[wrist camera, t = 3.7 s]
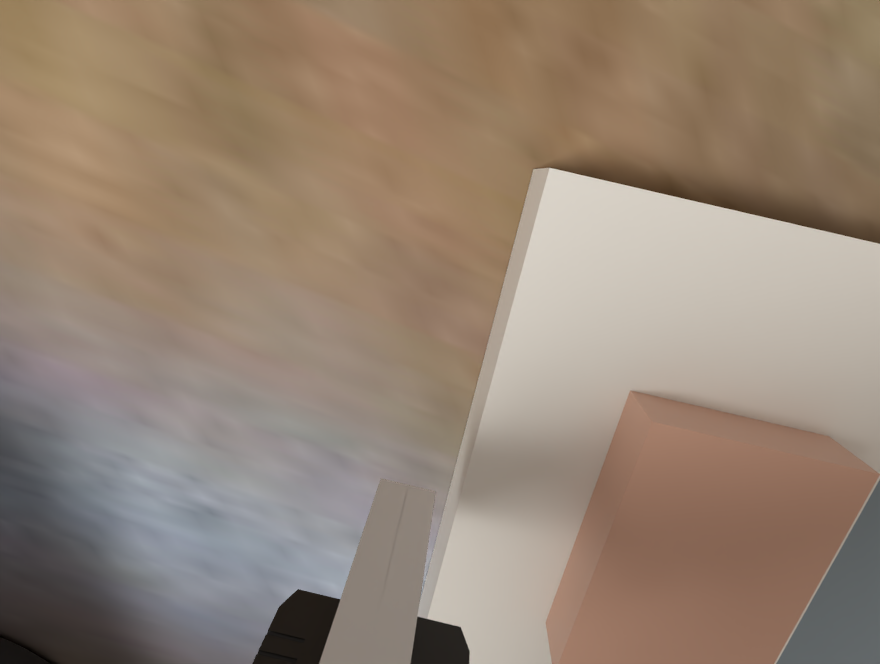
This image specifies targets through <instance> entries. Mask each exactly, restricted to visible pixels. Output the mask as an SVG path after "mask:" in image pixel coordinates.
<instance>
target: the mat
mask: <svg viewBox="0 0 880 664" xmlns="http://www.w3.org/2000/svg"><path fill="white" fill-rule="evenodd" d="M776 664H880V480H879V482H878V483H877V485H876V487H875V489H874V491H873V492H872V494H871V496H870V498H869V500H868V501H867V503H866V505H865V507H864V508H863V510H862V512H861V514H860V516H859V517H858V519H857V521H856V523H855V524H854V526H853V528H852V530H851V532H850V533H849V535H848V537H847V539H846V540H845V542H844V544H843V546H842V548H841V549H840V551H839V553H838V555H837V556H836V558H835V560H834V562H833V564H832V565H831V567H830V569H829V571H828V572H827V574H826V576H825V578H824V580H823V581H822V583H821V585H820V587H819V588H818V590H817V592H816V594H815V596H814V597H813V599H812V601H811V603H810V604H809V606H808V608H807V610H806V612H805V613H804V615H803V617H802V619H801V621H800V622H799V624H798V626H797V628H796V629H795V631H794V633H793V635H792V637H791V638H790V640H789V642H788V644H787V645H786V647H785V649H784V651H783V653H782V654H781V656H780V658H779V660H778V661H777V663H776Z"/></svg>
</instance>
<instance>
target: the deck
mask: <svg viewBox="0 0 880 664" xmlns="http://www.w3.org/2000/svg"><path fill="white" fill-rule="evenodd" d="M630 390H631V391H636V392H640V393H644V394H649V395H653V396H657V397H662V398H666V399H670V400H675V401H679V402H683V403H688V404H692V405H696V406H701V407H705V408H709V409H714V410H718V411H722V412H727V413H731V414H735V415H740V416H744V417H748V418H752V419H757V420H761V421H765V422H770V423H774V424H778V425H783V426H787V427H791V428H796V429H800V430H804V431H809V432H813V433H817V434H822V435H826V436H830V437H831V438H832V439H834V440H835V441H836V442H838V443H839V444H840V445H842V446H843V447H844V448H846V449H847V450H848V451H850V452H851V453H852V454H854V455H855V456H856V457H858V458H859V459H860V460H862V461H863V462H864V463H866V464H867V465H869V466H870V467H871V468H873V469H874V470H875V471H877V472H878V473H879V474H880V244H878V243H874V242H870V241H865V240H861V239H857V238H852V237H848V236H844V235H839V234H835V233H830V232H826V231H822V230H817V229H813V228H809V227H804V226H800V225H796V224H791V223H787V222H783V221H778V220H774V219H770V218H765V217H761V216H757V215H752V214H748V213H744V212H739V211H735V210H731V209H726V208H722V207H718V206H713V205H709V204H705V203H700V202H696V201H692V200H687V199H683V198H679V197H674V196H670V195H666V194H661V193H657V192H653V191H648V190H644V189H640V188H635V187H631V186H627V185H622V184H618V183H614V182H609V181H605V180H601V179H596V178H592V177H588V176H583V175H579V174H575V173H570V172H566V171H562V170H557V169H553V168H541V169H533V173H532V177H531V181H530V185H529V188H528V192H527V196H526V200H525V204H524V207H523V211H522V215H521V219H520V223H519V226H518V230H517V234H516V238H515V242H514V245H513V249H512V253H511V257H510V261H509V264H508V268H507V272H506V276H505V280H504V284H503V287H502V291H501V295H500V299H499V303H498V306H497V310H496V314H495V318H494V322H493V325H492V329H491V333H490V337H489V341H488V344H487V348H486V352H485V356H484V360H483V363H482V367H481V371H480V375H479V379H478V382H477V386H476V390H475V394H474V398H473V402H472V405H471V409H470V413H469V417H468V421H467V424H466V428H465V432H464V436H463V440H462V443H461V447H460V451H459V455H458V459H457V462H456V466H455V470H454V474H453V478H452V481H451V485H450V489H449V493H448V497H447V500H446V504H445V508H444V512H443V516H442V519H441V523H440V527H439V531H438V535H437V539H436V542H435V546H434V550H433V554H432V558H431V561H430V565H429V569H428V573H427V577H426V580H425V584H424V588H423V592H422V596H421V599H420V603H419V609H418V616H417V617H421V618H426V619H430V620H434V621H438V622H442V623H446V624H450V625H455V626H459V627H461V629H462V632H463V635H464V637H465V640H466V643H467V645H468V648H469V651H470V657H469V664H552V661H551V655H550V648H549V642H548V635H547V629H546V620H547V617H548V614H549V611H550V609H551V606H552V603H553V600H554V598H555V595H556V592H557V589H558V587H559V584H560V581H561V578H562V576H563V573H564V570H565V568H566V565H567V562H568V559H569V557H570V554H571V551H572V548H573V546H574V543H575V540H576V537H577V535H578V532H579V529H580V526H581V524H582V521H583V518H584V515H585V513H586V510H587V507H588V504H589V502H590V499H591V496H592V493H593V491H594V488H595V485H596V482H597V480H598V477H599V474H600V472H601V469H602V466H603V463H604V461H605V458H606V455H607V452H608V450H609V447H610V444H611V441H612V439H613V436H614V433H615V430H616V428H617V425H618V422H619V419H620V417H621V414H622V411H623V408H624V406H625V403H626V400H627V397H628V395H629V392H630ZM879 480H880V475H879V477H878V479H877V481H876V483H875V484H874V486H873V488H872V490H871V492H870V493H869V495H868V497H867V499H866V500H865V502H864V504H863V506H862V508H861V509H860V511H859V513H858V515H857V517H856V518H855V520H854V522H853V524H852V525H851V527H850V529H849V531H848V533H847V534H846V536H845V538H844V540H843V542H842V543H841V545H840V547H839V549H838V550H837V552H836V554H835V556H834V558H833V559H832V561H831V563H830V565H829V566H828V568H827V570H826V572H825V574H824V575H823V577H822V579H821V581H820V583H819V584H818V586H817V588H816V590H815V591H814V593H813V595H812V597H811V599H810V600H809V602H808V604H807V606H806V608H805V609H804V611H803V613H802V615H801V616H800V618H799V620H798V622H797V624H796V625H795V627H794V629H793V631H792V633H791V634H790V636H789V638H788V640H787V641H786V643H785V645H784V647H783V649H782V650H781V652H780V654H779V656H778V658H777V659H776V661H775V663H774V664H776V663H777V661H778V660H779V658H780V656H781V654H782V653H783V651H784V649H785V647H786V645H787V644H788V642H789V640H790V638H791V637H792V635H793V633H794V631H795V629H796V628H797V626H798V624H799V622H800V621H801V619H802V617H803V615H804V613H805V612H806V610H807V608H808V606H809V604H810V603H811V601H812V599H813V597H814V596H815V594H816V592H817V590H818V588H819V587H820V585H821V583H822V581H823V580H824V578H825V576H826V574H827V572H828V571H829V569H830V567H831V565H832V564H833V562H834V560H835V558H836V556H837V555H838V553H839V551H840V549H841V548H842V546H843V544H844V542H845V540H846V539H847V537H848V535H849V533H850V532H851V530H852V528H853V526H854V524H855V523H856V521H857V519H858V517H859V516H860V514H861V512H862V510H863V508H864V507H865V505H866V503H867V501H868V500H869V498H870V496H871V494H872V492H873V491H874V489H875V487H876V485H877V483H878V482H879Z"/></svg>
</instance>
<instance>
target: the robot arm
mask: <svg viewBox="0 0 880 664" xmlns="http://www.w3.org/2000/svg"><path fill="white" fill-rule="evenodd" d="M435 495H436V492H435V491H431V490H427V489H423V488H419V487H414V486H410V485H406V484H402V483H398V482H393V481H389V480H385V479H381V480H380V483H379V486H378V489H377V492H376V495H375V498H374V501H373V504H372V507H371V510H370V513H369V516H368V519H367V522H366V525H365V528H364V531H363V534H362V537H361V540H360V543H359V546H358V549H357V552H356V555H355V558H354V561H353V564H352V567H351V570H350V573H349V576H348V579H347V582H346V585H345V588H344V591H343V594H342V597H341V600H340V599H336V598H332V597H328V596H323V595H319V594H315V593H311V592H307V591H303V590H299V589H298V590H297V591H296V592H295V593H294V594H292V595H291V596H290V597H289V598H288V599H287V600H286V601H285V602H284V603H283V604H282V605H281V606H280V607H279V608H278V610H277V613H276V615H275V617H274V619H273V621H272V623H271V625H270V627H269V630H268V633H267V635H266V636H265V638H264V640H263V642H262V645H261V647H260V649H259V652H258V654H257V655H256V657H255V659H254V662H253V664H469V657H470V651H469V648H468V645H467V643H466V640H465V637H464V635H463V632H462V629H461V627H459V626H455V625H450V624H446V623H442V622H438V621H434V620H430V619H426V618H421V617H417V616H418V609H419V603H420V596H421V589H422V582H423V576H424V569H425V562H426V555H427V549H428V542H429V535H430V528H431V522H432V515H433V508H434V501H435ZM0 664H50V663H48V662H47V661H45V660H44V659H42V658H41V657H39V656H37V655H36V654H34V653H32V652H30V651H29V650H27V649H25V648H23V647H21V646H19V645H17V644H15V643H13V642H11V641H8V640H6V639H4V638H1V637H0Z"/></svg>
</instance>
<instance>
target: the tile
mask: <svg viewBox="0 0 880 664" xmlns="http://www.w3.org/2000/svg"><path fill="white" fill-rule="evenodd" d="M879 475H880V474H879V473H878V472H877V471H875V470H874V469H873V468H871V467H870V466H869V465H867V464H866V463H864V462H863V461H862V460H860V459H859V458H858V457H856V456H855V455H854V454H852V453H851V452H850V451H848V450H847V449H846V448H844V447H843V446H842V445H840V444H839V443H838V442H836V441H835V440H834V439H832V438H831V437H830V436H826V435H822V434H817V433H813V432H809V431H804V430H800V429H796V428H791V427H787V426H783V425H778V424H774V423H770V422H765V421H761V420H757V419H752V418H748V417H744V416H740V415H735V414H731V413H727V412H722V411H718V410H714V409H709V408H705V407H701V406H696V405H692V404H688V403H683V402H679V401H675V400H670V399H666V398H662V397H657V396H653V395H649V394H644V393H640V392H636V391H631V390H630V392H629V395H628V397H627V400H626V403H625V406H624V408H623V411H622V414H621V417H620V419H619V422H618V425H617V428H616V430H615V433H614V436H613V439H612V441H611V444H610V447H609V450H608V452H607V455H606V458H605V461H604V463H603V466H602V469H601V472H600V474H599V477H598V480H597V482H596V485H595V488H594V491H593V493H592V496H591V499H590V502H589V504H588V507H587V510H586V513H585V515H584V518H583V521H582V524H581V526H580V529H579V532H578V535H577V537H576V540H575V543H574V546H573V548H572V551H571V554H570V557H569V559H568V562H567V565H566V568H565V570H564V573H563V576H562V578H561V581H560V584H559V587H558V589H557V592H556V595H555V598H554V600H553V603H552V606H551V609H550V611H549V614H548V617H547V620H546V629H547V635H548V642H549V648H550V655H551V661H552V664H774V663H775V661H776V659H777V658H778V656H779V654H780V652H781V650H782V649H783V647H784V645H785V643H786V641H787V640H788V638H789V636H790V634H791V633H792V631H793V629H794V627H795V625H796V624H797V622H798V620H799V618H800V616H801V615H802V613H803V611H804V609H805V608H806V606H807V604H808V602H809V600H810V599H811V597H812V595H813V593H814V591H815V590H816V588H817V586H818V584H819V583H820V581H821V579H822V577H823V575H824V574H825V572H826V570H827V568H828V566H829V565H830V563H831V561H832V559H833V558H834V556H835V554H836V552H837V550H838V549H839V547H840V545H841V543H842V542H843V540H844V538H845V536H846V534H847V533H848V531H849V529H850V527H851V525H852V524H853V522H854V520H855V518H856V517H857V515H858V513H859V511H860V509H861V508H862V506H863V504H864V502H865V500H866V499H867V497H868V495H869V493H870V492H871V490H872V488H873V486H874V484H875V483H876V481H877V479H878V477H879Z"/></svg>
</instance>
